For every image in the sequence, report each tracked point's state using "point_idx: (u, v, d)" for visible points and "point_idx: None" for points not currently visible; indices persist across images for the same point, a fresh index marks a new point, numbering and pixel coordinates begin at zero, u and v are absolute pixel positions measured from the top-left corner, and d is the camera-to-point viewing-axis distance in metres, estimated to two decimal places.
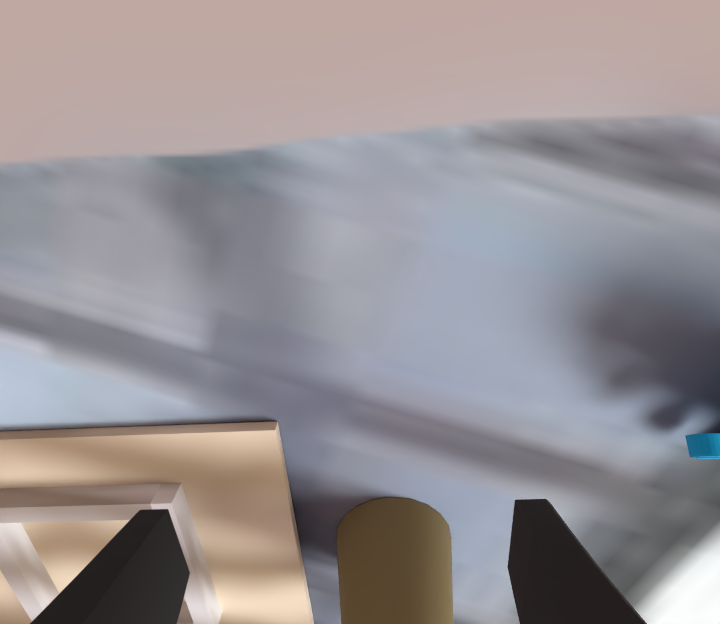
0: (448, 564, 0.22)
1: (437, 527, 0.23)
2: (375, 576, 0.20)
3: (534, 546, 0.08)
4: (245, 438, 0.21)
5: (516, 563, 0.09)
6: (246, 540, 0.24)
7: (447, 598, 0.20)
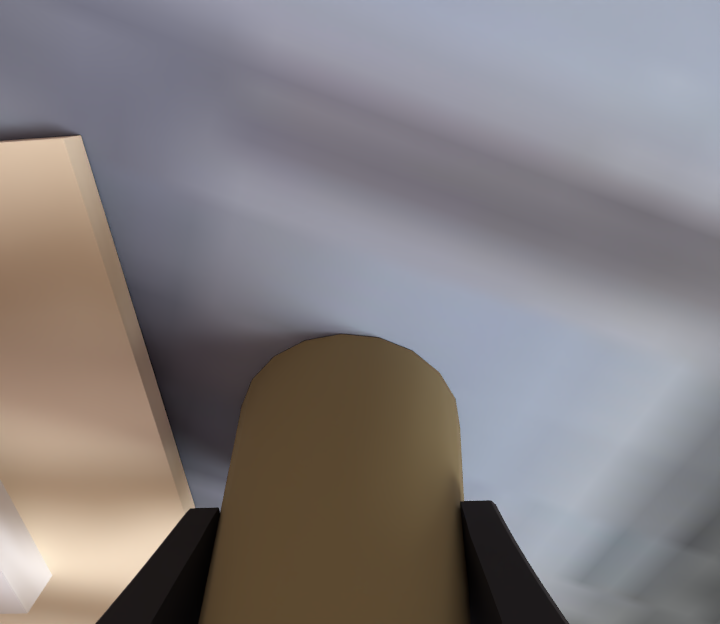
0: (456, 458, 0.10)
1: (433, 390, 0.11)
2: (284, 463, 0.09)
3: (472, 547, 0.08)
4: (2, 164, 0.09)
5: None
6: (62, 428, 0.12)
7: (455, 518, 0.09)
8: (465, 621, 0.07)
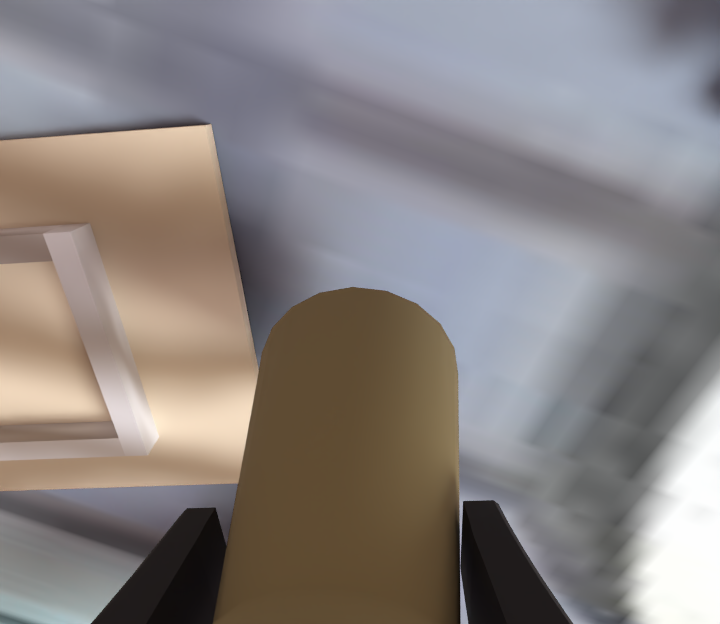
0: (452, 395, 0.12)
1: (433, 337, 0.12)
2: (303, 389, 0.10)
3: (475, 547, 0.08)
4: (167, 141, 0.16)
5: (465, 564, 0.09)
6: (181, 319, 0.19)
7: (449, 440, 0.10)
8: (454, 516, 0.09)
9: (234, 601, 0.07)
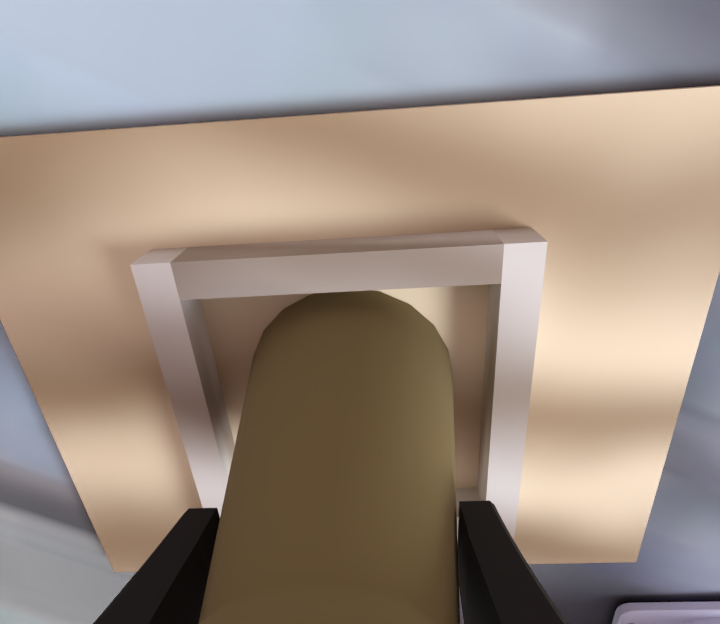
0: (447, 395, 0.12)
1: (427, 337, 0.12)
2: (294, 386, 0.10)
3: (470, 547, 0.08)
4: (702, 107, 0.11)
5: (461, 564, 0.09)
6: (604, 360, 0.14)
7: (444, 438, 0.10)
8: (451, 513, 0.09)
9: (220, 601, 0.07)
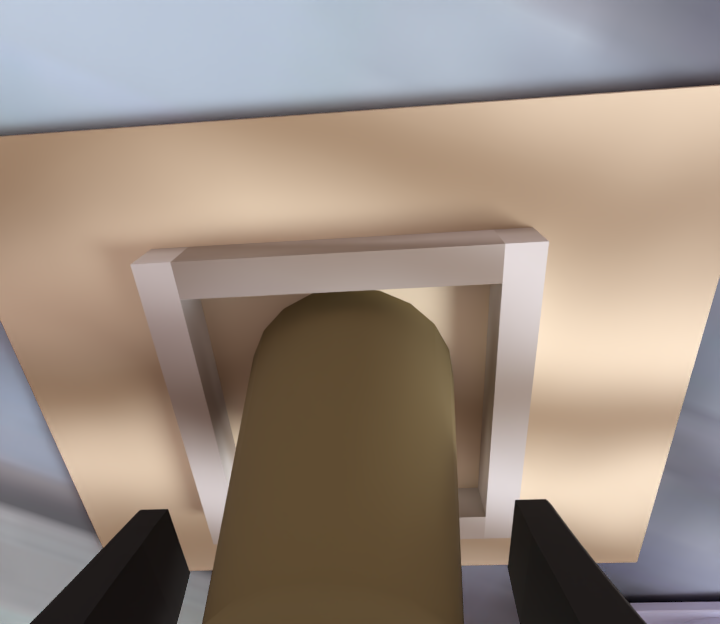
0: (448, 394, 0.12)
1: (428, 336, 0.12)
2: (297, 385, 0.10)
3: (534, 546, 0.08)
4: (704, 106, 0.11)
5: (516, 563, 0.09)
6: (605, 360, 0.13)
7: (446, 437, 0.10)
8: (454, 512, 0.09)
9: (224, 601, 0.07)
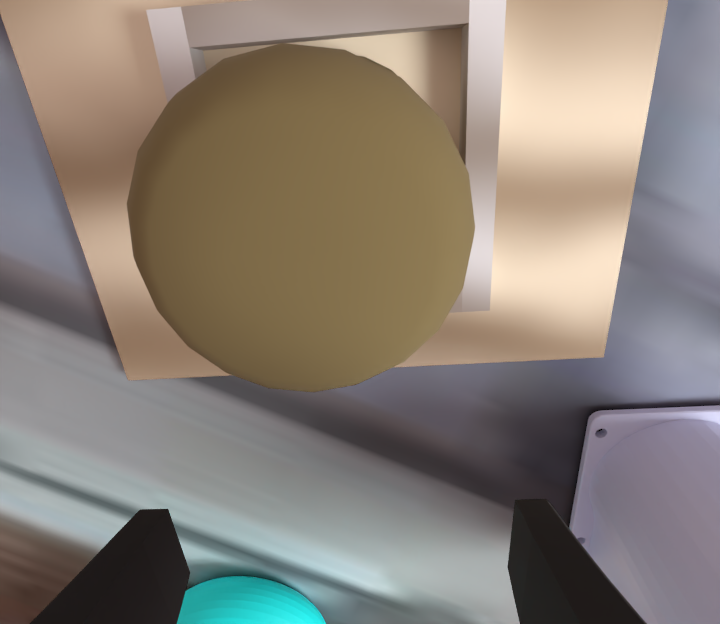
0: None
1: None
2: None
3: (534, 546, 0.08)
4: None
5: (516, 563, 0.09)
6: (565, 128, 0.15)
7: None
8: None
9: None
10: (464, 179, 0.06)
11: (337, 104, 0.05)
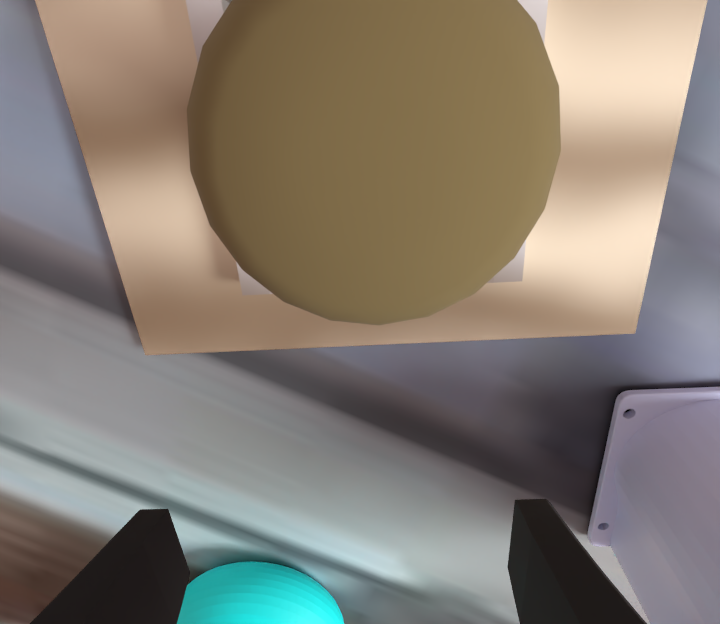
0: None
1: None
2: None
3: (534, 546, 0.08)
4: None
5: (516, 563, 0.09)
6: (605, 90, 0.15)
7: None
8: None
9: None
10: (556, 81, 0.06)
11: None
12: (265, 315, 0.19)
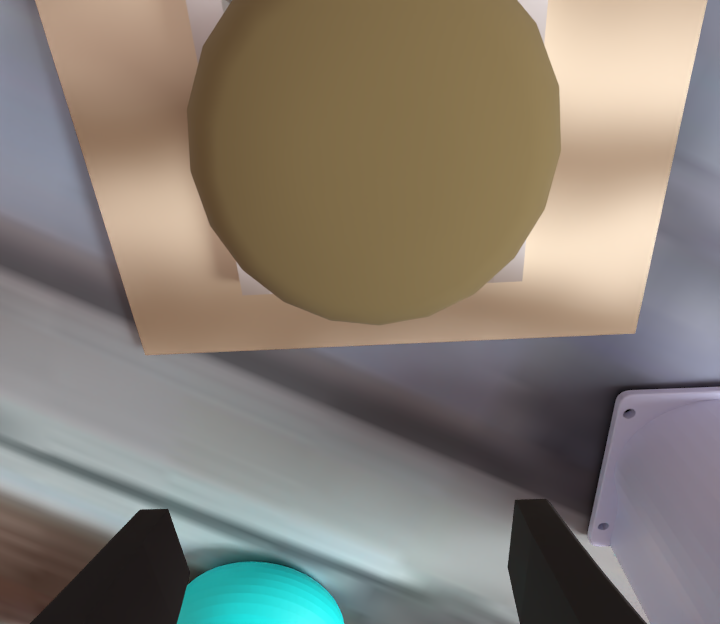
0: None
1: None
2: None
3: (534, 546, 0.08)
4: None
5: (516, 563, 0.09)
6: (605, 90, 0.15)
7: None
8: None
9: None
10: (556, 81, 0.06)
11: None
12: (265, 315, 0.19)
